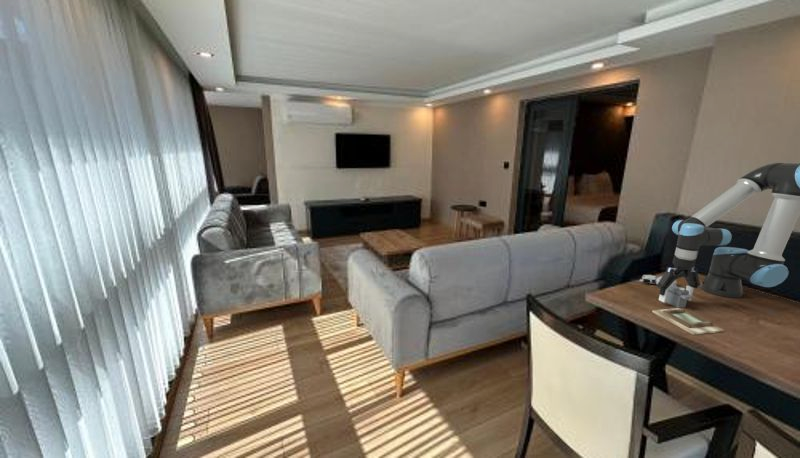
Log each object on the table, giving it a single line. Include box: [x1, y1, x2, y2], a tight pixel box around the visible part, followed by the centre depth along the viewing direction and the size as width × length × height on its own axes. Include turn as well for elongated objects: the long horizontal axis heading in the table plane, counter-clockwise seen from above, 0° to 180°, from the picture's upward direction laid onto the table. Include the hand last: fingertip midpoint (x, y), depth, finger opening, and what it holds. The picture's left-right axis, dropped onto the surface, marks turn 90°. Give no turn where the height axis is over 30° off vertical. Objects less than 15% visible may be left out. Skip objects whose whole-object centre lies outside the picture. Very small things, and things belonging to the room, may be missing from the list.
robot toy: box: [639, 274, 678, 286], centre depth 169 cm, size 12×4×15 cm
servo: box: [665, 285, 694, 309], centre depth 148 cm, size 4×11×9 cm, turn 8°
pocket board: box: [652, 307, 725, 336], centre depth 134 cm, size 14×18×2 cm
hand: (674, 300), depth 148 cm, fingers open, 13 cm apart
